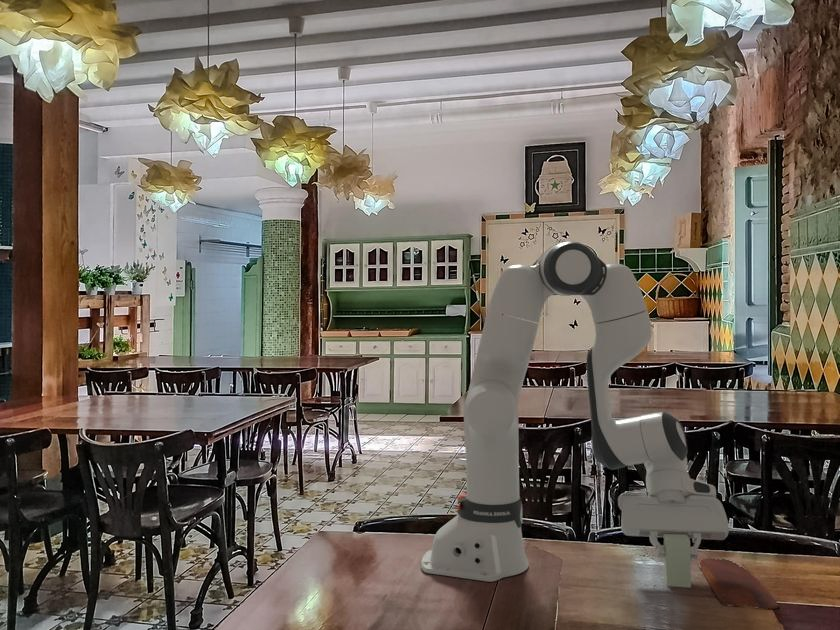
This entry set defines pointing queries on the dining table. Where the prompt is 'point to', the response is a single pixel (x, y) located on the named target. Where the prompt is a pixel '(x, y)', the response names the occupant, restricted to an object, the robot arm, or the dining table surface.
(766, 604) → the wooden tablet
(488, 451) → the robot arm
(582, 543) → the dining table surface
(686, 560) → the sage card box
